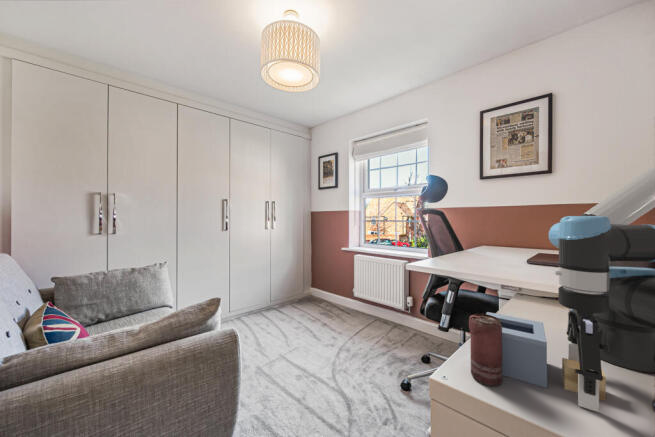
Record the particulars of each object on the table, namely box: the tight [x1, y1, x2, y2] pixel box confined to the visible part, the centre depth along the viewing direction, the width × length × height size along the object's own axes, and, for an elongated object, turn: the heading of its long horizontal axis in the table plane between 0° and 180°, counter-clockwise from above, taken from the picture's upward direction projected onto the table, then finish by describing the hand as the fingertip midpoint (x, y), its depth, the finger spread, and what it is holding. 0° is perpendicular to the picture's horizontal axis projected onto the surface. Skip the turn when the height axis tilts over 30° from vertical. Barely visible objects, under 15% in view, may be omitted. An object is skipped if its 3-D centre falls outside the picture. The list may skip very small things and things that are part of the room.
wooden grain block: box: [561, 357, 607, 402], centre depth 54 cm, size 6×4×5 cm, turn 53°
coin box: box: [485, 311, 548, 389], centre depth 63 cm, size 12×12×10 cm
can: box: [468, 313, 503, 387], centre depth 58 cm, size 6×6×14 cm
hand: (581, 388), depth 54 cm, fingers open, 13 cm apart
